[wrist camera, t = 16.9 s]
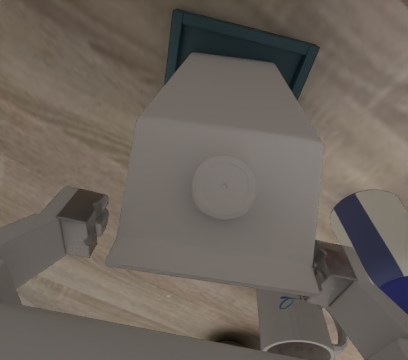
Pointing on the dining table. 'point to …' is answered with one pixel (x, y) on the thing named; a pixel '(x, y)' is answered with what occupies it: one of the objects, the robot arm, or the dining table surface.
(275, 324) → the mug
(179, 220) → the milk carton
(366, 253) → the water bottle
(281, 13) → the dining table surface
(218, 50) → the tray
